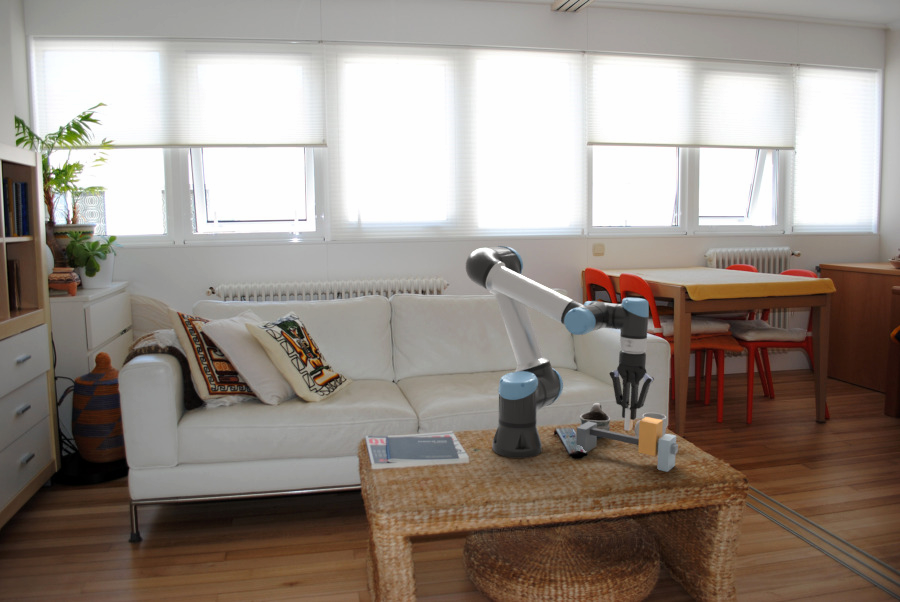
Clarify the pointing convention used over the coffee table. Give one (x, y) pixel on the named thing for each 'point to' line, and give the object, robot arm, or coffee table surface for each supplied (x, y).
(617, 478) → the coffee table surface
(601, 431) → the rail rig
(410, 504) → the coffee table surface
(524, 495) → the coffee table surface
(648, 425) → the orange sliding sleeve
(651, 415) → the cup
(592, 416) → the mug
